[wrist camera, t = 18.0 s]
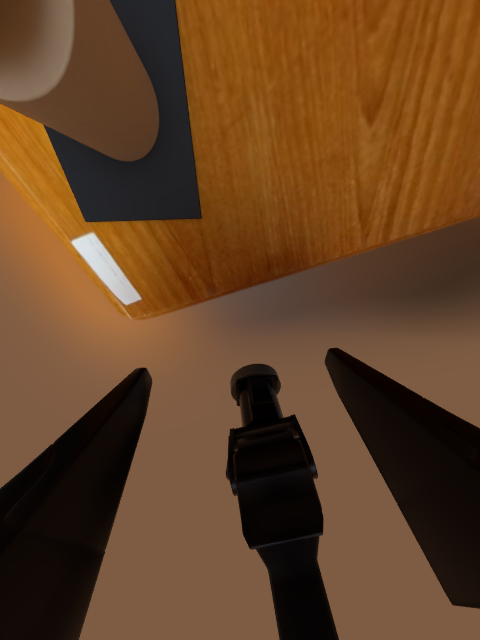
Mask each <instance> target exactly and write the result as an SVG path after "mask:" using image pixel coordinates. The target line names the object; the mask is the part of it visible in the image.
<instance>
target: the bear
mask: <svg viewBox="0 0 480 640" xmlns="http://www.w3.org/2000/svg"><path fill="white" fill-rule="evenodd" d="M0 103H1V104H3V105H5V106H7V107H9V108H11V109H13V110H15V111H17V112H19V113H21V114H23V115H25V116H27V117H29V118H31V119H33V120H35V121H37V122H39V123H42V124H44V125H46V126H48V127H50V128H52V129H54V130H56V131H58V132H60V133H62V134H64V135H66V136H68V137H70V138H72V139H74V140H76V141H78V142H80V143H82V144H84V145H87V146H89V147H91V148H93V149H95V150H97V151H99V152H101V153H103V154H105V155H107V156H109V157H111V158H114V159H116V160H120V161H128V162H129V161H135V160H139V159H141V158H143V157H144V156H145V155H147V154H148V153H149V151H150V150H151V149H152V147H153V146H154V143H155V141H156V138H157V135H158V129H159V110H158V103H157V99H156V94H155V91H154V88H153V85H152V83H151V80H150V78H149V76H148V74H147V72H146V70H145V68H144V66H143V64H142V62H141V60H140V58H139V56H138V54H137V52H136V51H135V49H134V47H133V45H132V43H131V41H130V39H129V37H128V35H127V33H126V31H125V29H124V27H123V26H122V24H121V22H120V20H119V18H118V16H117V14H116V12H115V10H114V8H113V6H112V4H111V2H110V0H0Z"/></svg>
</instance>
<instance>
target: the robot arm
mask: <svg viewBox="0 0 480 640" xmlns="http://www.w3.org/2000/svg"><path fill="white" fill-rule="evenodd" d="M325 365H326V367H327V369H328V372H329V374H330V377H331V379H332V382H333V384H334V386H335V389H336V391H337V393H338V395H339V397H340V399H341V401H342V403H343V404H344V406H345V408H346V410H347V412H348V414H349V415H350V417H351V419H352V421H353V423H354V425H355V427H356V428H357V430H358V432H359V434H360V436H361V438H362V440H363V441H364V443H365V445H366V447H367V449H368V450H369V453H370V454H371V456H372V458H373V460H374V462H375V464H376V465H377V467H378V469H379V471H380V473H381V474H382V477H383V478H384V480H385V482H386V484H387V486H388V488H389V490H390V491H391V493H392V495H393V497H394V499H395V501H396V502H397V503H398V506H399V508H400V510H401V512H402V514H403V516H404V517H405V519H406V521H407V523H408V525H409V527H410V529H411V530H412V532H413V534H414V536H415V538H416V540H417V542H418V543H419V545H420V547H421V549H422V551H423V552H424V555H425V556H426V558H427V560H428V562H429V564H430V566H431V567H432V569H433V571H434V573H435V575H436V577H437V579H438V580H439V582H440V584H441V586H442V588H443V590H444V592H445V593H446V595H447V597H448V598H449V600H450V602H451V603H452V605H455V606H462V607H463V606H464V607H471V608H479V609H480V428H478V427H476V426H474V425H473V424H471V423H469V422H467V421H465V420H463V419H461V418H459V417H457V416H456V415H454V414H452V413H450V412H448V411H446V410H445V409H443V408H441V407H439V406H438V405H436V404H434V403H432V402H431V401H429V400H427V399H426V398H423V397H422V396H420V395H418V394H417V393H415V392H413V391H412V390H410V389H408V388H406V387H405V386H403V385H401V384H399V383H398V382H396V381H394V380H392V379H391V378H389V377H387V376H385V375H384V374H382V373H380V372H379V371H377V370H375V369H373V368H372V367H370V366H368V365H366V364H365V363H363V362H361V361H360V360H358V359H356V358H354V357H352V356H351V355H349V354H347V353H346V352H344V351H342V350H340V349H339V348H331V349H329V350H328V352H327V355H326V358H325ZM277 385H278V376H277V375H268V376H258V377H248V378H238V379H236V399H237V405H238V406H240V409H241V418H242V427H241V428H236V429H234V428H233V429H230V436H229V444H228V461H227V468H226V477H227V479H228V480H229V481H230V484H231V488H232V492H233V494H234V496H238V502H239V508H240V515H241V522H242V531H243V535H244V537H245V540H246V542H247V544H248V546H249V548H250V549H256V550H257V552H258V554H259V555H260V557H261V559H262V560H263V562H264V563H265V565H266V567H267V569H268V573H269V578H270V584H271V590H272V596H273V602H274V608H275V615H276V621H277V627H278V633H279V638H280V640H339V638H338V635H337V631H336V627H335V624H334V620H333V616H332V613H331V609H330V606H329V602H328V598H327V594H326V591H325V587H324V584H323V580H322V576H321V572H320V569H319V565H318V561H317V554H318V544H319V536H320V535H323V514H322V507H321V503H320V500H319V497H318V494H317V490H316V487H315V484H314V480H313V479H317V478H318V473H317V469H316V466H315V462H314V459H313V456H312V453H311V450H310V448H309V445H308V443H307V441H306V438H305V436H304V434H303V432H302V429H301V427H300V425H299V423H298V420H297V418H296V416H295V414H294V415H291V416H289V417H285V418H283V415H282V412H281V408H280V405H279V402H278V399H277V395H276V392H277ZM151 386H152V378H151V376H150V374H149V372H148V370H147V369H146V368H137V369H135V370H134V371H133V372H132V373H131V374H129V375H128V376H127V377H126V378H125V379H124V380H123V381H122V382H121V383H119V384H118V385H117V386H116V387H115V388H114V389H113V390H112V391H110V392H109V393H108V394H107V395H106V396H105V397H104V398H103V399H102V400H100V401H99V402H98V403H97V404H96V405H95V406H94V407H93V408H91V410H89V411H88V412H87V413H86V414H85V415H84V416H83V417H82V418H80V419H79V420H78V421H77V422H76V423H75V424H74V425H73V426H71V427H70V428H69V429H68V430H67V431H66V432H65V433H64V434H62V435H61V436H60V437H59V438H58V439H57V440H56V441H55V442H54V444H51V445H50V446H49V447H48V448H47V449H46V450H45V451H43V452H42V453H41V454H40V455H39V456H38V457H37V458H36V459H34V460H33V461H32V462H31V463H30V464H29V465H27V466H26V467H25V468H24V469H23V470H22V471H21V472H20V473H18V474H17V475H16V476H15V477H14V478H12V479H11V480H10V481H9V482H7V483H6V484H5V485H4V486H3V487H1V489H0V640H79V637H80V634H81V630H82V627H83V624H84V621H85V617H86V614H87V611H88V607H89V604H90V601H91V597H92V594H93V591H94V587H95V584H96V581H97V577H98V574H99V571H100V567H101V563H102V561H103V557H104V554H105V549H106V547H107V543H108V540H109V536H110V533H111V530H112V527H113V523H114V520H115V517H116V513H117V510H118V506H119V503H120V500H121V497H122V493H123V490H124V486H125V483H126V480H127V477H128V473H129V470H130V467H131V463H132V460H133V457H134V453H135V450H136V447H137V443H138V440H139V436H140V433H141V430H142V427H143V423H144V420H145V416H146V412H147V407H148V402H149V396H150V390H151Z"/></svg>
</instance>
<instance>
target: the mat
mask: <svg viewBox="0 0 480 640" xmlns="http://www.w3.org/2000/svg"><path fill="white" fill-rule="evenodd" d="M110 2H111V4H112V6H113V8H114V10H115V12H116V14H117V16H118V18H119V20H120V22H121V24H122V26H123V27H124V29H125V31H126V33H127V35H128V37H129V39H130V41H131V43H132V45H133V47H134V49H135V51H136V52H137V54H138V56H139V58H140V60H141V62H142V64H143V66H144V68H145V70H146V72H147V74H148V76H149V78H150V80H151V83H152V85H153V88H154V91H155V94H156V99H157V103H158V110H159V129H158V135H157V138H156V141H155V143H154V146H153V147H152V149H151V150H150V151H149V153H148V154H147V155H145V156H144V157H143V158H141V159H139V160H135V161H129V162H128V161H120V160H116V159H114V158H111V157H109V156H107V155H105V154H103V153H101V152H99V151H97V150H95V149H93V148H91V147H89V146H87V145H84V144H82V143H80V142H78V141H76V140H74V139H72V138H70V137H68V136H66V135H64V134H62V133H60V132H58V131H56V130H54V129H52V128H50V127H48V126H46V125H44V124H43V125H44V127H45V129H46V131H47V134H48V136H49V138H50V141H51V143H52V145H53V148H54V150H55V152H56V155H57V157H58V159H59V162H60V164H61V166H62V168H63V171H64V173H65V175H66V178H67V180H68V182H69V185H70V187H71V189H72V192H73V194H74V196H75V198H76V201H77V203H78V205H79V208H80V210H81V212H82V215H83V217H84V219H85V221H86V222H100V221H132V220H164V219H196V218H201V211H200V202H199V194H198V186H197V178H196V170H195V161H194V153H193V145H192V137H191V129H190V121H189V112H188V104H187V96H186V88H185V80H184V71H183V63H182V55H181V47H180V39H179V31H178V22H177V14H176V6H175V0H110Z"/></svg>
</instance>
